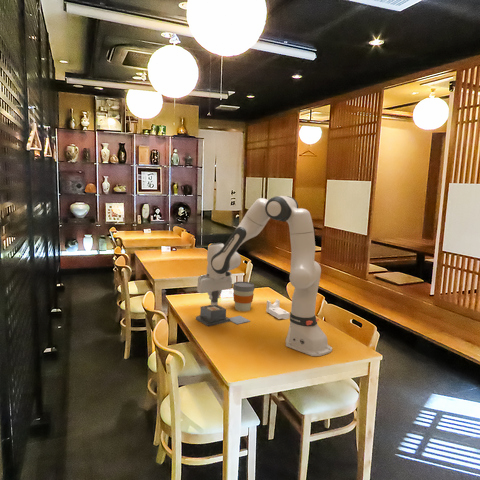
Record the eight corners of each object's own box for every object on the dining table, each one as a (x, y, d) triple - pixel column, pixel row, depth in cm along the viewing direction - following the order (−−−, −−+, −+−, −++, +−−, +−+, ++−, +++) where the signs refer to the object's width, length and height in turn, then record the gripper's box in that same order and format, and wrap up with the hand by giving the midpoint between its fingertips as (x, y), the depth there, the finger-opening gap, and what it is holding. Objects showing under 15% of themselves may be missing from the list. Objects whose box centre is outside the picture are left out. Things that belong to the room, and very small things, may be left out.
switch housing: (230, 321, 205) (230, 309, 204) (208, 326, 197) (208, 313, 196) (217, 314, 215) (217, 302, 214) (195, 319, 206) (196, 306, 205)
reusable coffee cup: (228, 309, 224) (229, 284, 222) (237, 304, 235) (238, 280, 233) (247, 313, 219) (249, 288, 217) (256, 307, 230) (258, 283, 228)
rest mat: (250, 321, 207) (250, 320, 207) (237, 324, 201) (237, 323, 201) (239, 316, 214) (239, 315, 214) (226, 319, 208) (226, 318, 208)
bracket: (266, 313, 223) (267, 300, 222) (276, 311, 226) (277, 299, 225) (278, 320, 212) (279, 307, 210) (289, 319, 215) (290, 306, 214)
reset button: (220, 318, 205) (221, 309, 204) (211, 320, 201) (211, 311, 201) (214, 315, 210) (214, 306, 209) (205, 316, 206) (205, 307, 205)
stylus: (217, 304, 204) (218, 290, 203) (213, 305, 202) (213, 290, 201) (214, 303, 206) (215, 289, 205) (210, 304, 204) (211, 289, 203)
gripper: (201, 276, 193) (201, 303, 195) (234, 272, 206) (233, 297, 207) (195, 274, 198) (194, 300, 200) (227, 270, 210) (226, 294, 212)
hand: (214, 298), depth 204 cm, fingers closed on stylus, 3 cm apart
